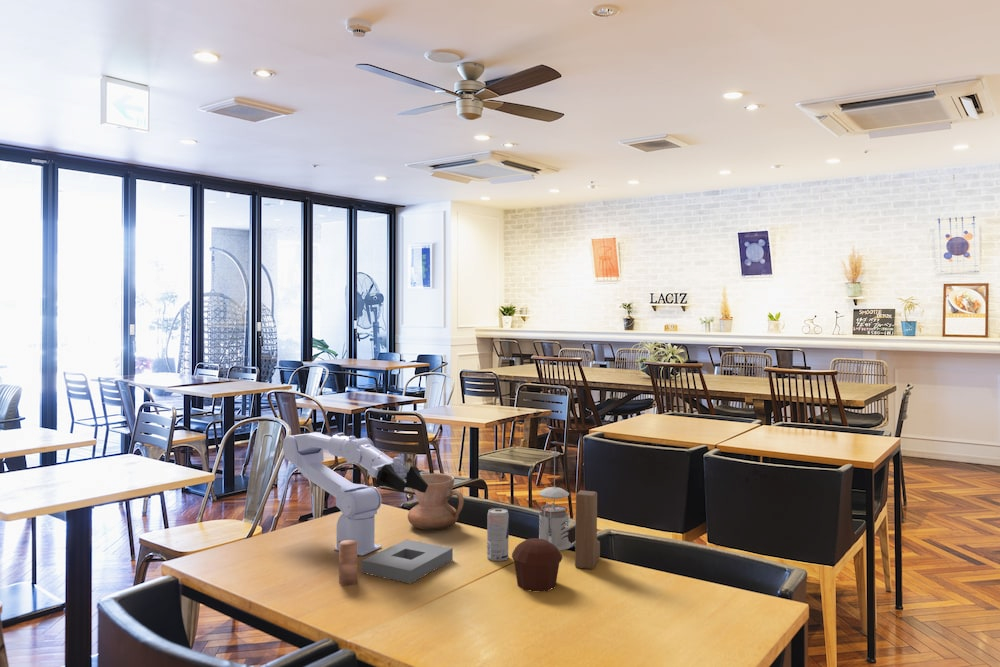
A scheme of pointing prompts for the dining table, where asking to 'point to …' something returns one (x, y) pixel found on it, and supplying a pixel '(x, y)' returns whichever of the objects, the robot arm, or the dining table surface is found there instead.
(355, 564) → the terracotta peg
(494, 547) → the energy drink
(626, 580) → the dining table surface
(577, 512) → the wooden block
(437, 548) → the grey flat holed block
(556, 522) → the french press
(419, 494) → the ceramic jug
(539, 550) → the muffin
